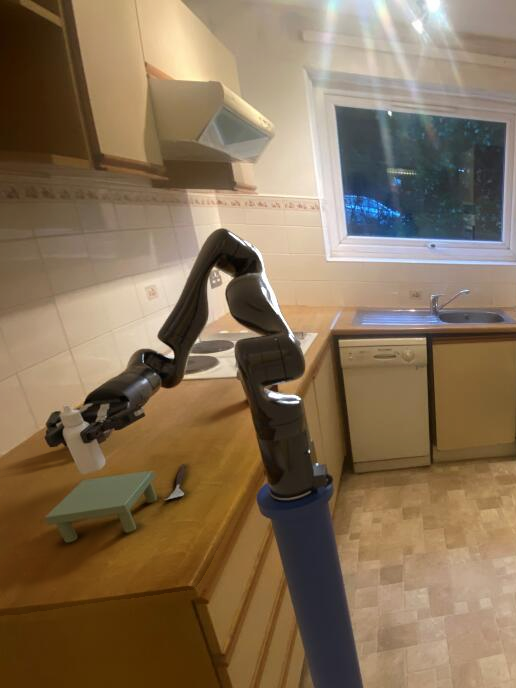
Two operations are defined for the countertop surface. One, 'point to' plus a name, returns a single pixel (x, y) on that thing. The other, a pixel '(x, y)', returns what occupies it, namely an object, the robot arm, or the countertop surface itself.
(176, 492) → the fork
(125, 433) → the countertop surface
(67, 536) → the stool
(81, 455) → the eye dropper bottle
